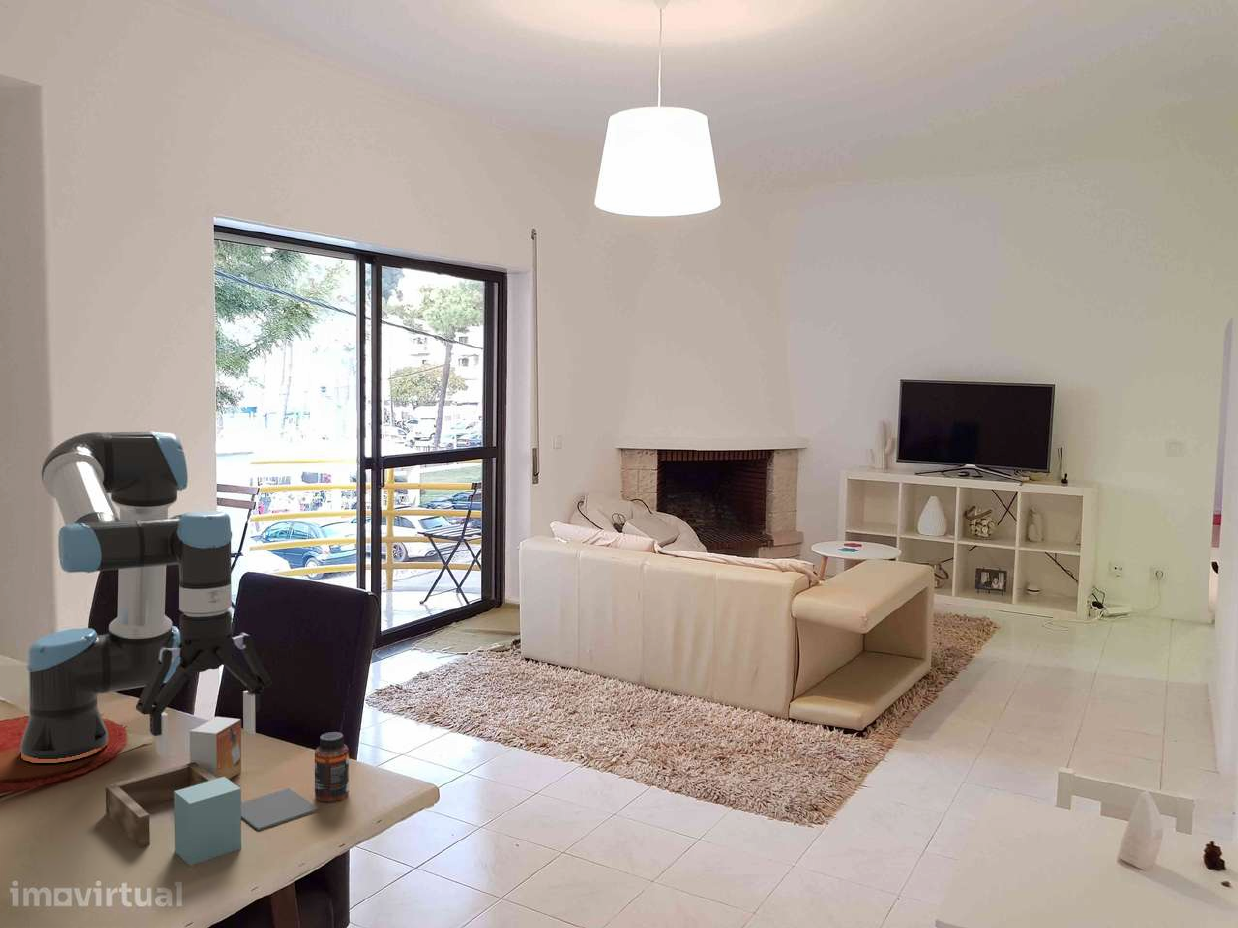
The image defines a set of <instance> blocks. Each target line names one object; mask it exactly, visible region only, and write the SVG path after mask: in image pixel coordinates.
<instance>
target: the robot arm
mask: <svg viewBox="0 0 1238 928" xmlns="http://www.w3.org/2000/svg"><path fill="white" fill-rule="evenodd" d="M188 476H189V475H188V465H187V461H186V455H185V452H184V449H183V445H182V443H181V441H180V439H179V437H177V436H176V435H175V434H174V433H173V432H162V431H161V432H160V431H159V432H157V431H153V430H150V431H121V432H120V431H119V432H118V431H117V432H113V431H112V432H109V431H108V432H100V431H96V432H86V433H81V434H79V435H75V436H72V437H70V438H68V439H66V440H63V442H61V443H60V444H59V445H57V446H56V447H54V449H52V450H51V451H50V452H49V454H47V456H46V458H45V460H44V462H43V464H42V467H41V480H42V483H43V486H44V488H45V490H46V492H47V493H48V494H49V495H50V496H51V497H52V498H54V499H55V500H56V503H57V505H58V508H59V511H60V514H61V517H62V519H63V522H64V525H63V526H62V527H60V529H59V531H58V539H57V540H58V541H57V542H58V545H57V547H58V548H57V549H58V559H59V565H60V568H61V569H62V571H64V572H65V573H67V574H68V573H69V574H70V573H71V574H73V573H75V574H76V573H87V574H91V573H95V572H104V571H114V570H116V571H117V570H118V587H117V592H118V593H117V617H115V618H114V619H113V620H111V622H110V623H109V625H108V633H107V634H98V633H97V631H96V630H95V629H93V628H90V627H82V628H72V629H71V628H69V629H67V630H62V631H58V632H55V633H51V634H47V635H45V636H43V637H40V638H39V639H37V640H36V641H34V643H32V644H31V646H30V647H29V650H28V662H27V663H28V664H27V667H26V669H27V671H28V690H29V691H28V694H29V695H28V696H29V698H28V700H29V701H28V702H29V718H28V721H27V723H26V726H25V728H24V733H23V735H22V737H21V741H20V745H19V752H20V751H21V753H22V754H24V755H26V756H29V757H33V758H38V759H58V758H66V757H72V756H76V755H80V754H83V753H86V752H89V751H91V750H94V749H98V748H101V747H103V746H104V745H105V744H106V743H107V741H108V742H109V733H108V729H107V727H106V724H105V722H104V719H103V716H102V715H101V712H100V710H99V707H98V695H101V694H106V693H113V692H119V691H124V690H125V691H126V690H131V689H138V688H143V690H142V692H141V694H140V696H139V699H138V701H137V703H136V705H135V710H136V711H138V712H139V713H141V714H142V715H145V716H146V715H149V732H150V734H151V735H153V736H154V737H155V739H156V743H155V744H156V753H157V754H158V755H160V756H161V757H162V758H166V757H169V714H168V713H166V712H165V710H166V709H167V707H168V706H169V705H170V703H172V701H173V699H174V698H175V696H176V695H177V693H179V691H180V690H181V688H182V687H184V685H185V683H186V682H187V680H188V679H189V678H191V677H192V676H193V675H194V674H195V672H197V673H203V672H206V671H209V670H218V669H220V668H221V667H222V666H224V667H225V669H227V671H229V672H230V673H231V674H232V675H233V676H234V677H235V678H236V679H237V680H238V681H239V682H240V683H242V684H243V686H245V687H246V688H247V689H248V690H244V691H242V714H243V715H242V718H243V719H242V721H243V722H242V724H243V725H242V726H243V731H244V732H246V733H248V734H249V735H255V734H256V712H259V711H260V709H261V695H262V694H263V693H264V689H265V688H269V687H271V686H272V684H273V682H272V678H271V677H270V676H269V674H268V671H267V670H266V668H265V667H264V665H263V663H262V661H261V659H260V658H259V656H258V654H257V652H256V650H255V648H254V645H253V644H254V643H253V637H252V636H251V635H250V634H247V633H245V632H240V633H238V635H237V636H234V637H233V636H232V632H233V612H232V611H231V610H230V609H231V607H232V603H233V599H232V597H233V596H232V593H233V592H232V587H233V586H232V539H233V531H232V525H231V517H230V516H229V514H228V513H226V512H224V511H217V510H197V511H190V512H185V513H183V514H176V515H174V516H172V517H169V508H170V507H171V506H172V505H173V504H175V503H176V502H177V500H178V491H179V492H182V491H184V490H185V489H187V487H188V483H189V482H188V481H189V480H188V479H189V478H188ZM109 494H110V496H109ZM110 497H111V498H110ZM113 503H114V504H115V506H117V507H118V509H119V515H118V513H117V511H116V509H115V507H114V505H113ZM172 565H178V574H179V580H178V581H179V582H178V591H179V592H178V595H179V596H178V610H179V611H180V612H181V613H180V615H179V629H178V626H175V625H173V621H172V619H171V618H170V617H168V616H167V615H166V614H165V613H166V586H167V585H166V583H167V578H166V577H167V566H172ZM235 647H236V648H237V649H239V650H240V651H241V653H242V655H243V657H244V659H245V660H246V662H247V664H248V666H249V668H250V670H251V671H252V674H253V675H254V677H255V678H256V680H254V679H253V678H252V677H251V676H250V675H249V674H248V673H247V672H246V671H245V670H244V669H243V668H242V667H241V666H240V665H239V664H238V662H236V661H235V660H234V659H233V658H232V657H231V655H230V654H231V652H232V650H233V649H234V648H235ZM163 684H164V686H163ZM162 686H163V687H162Z"/></svg>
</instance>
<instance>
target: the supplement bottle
mask: <svg viewBox="0 0 1238 928" xmlns="http://www.w3.org/2000/svg"><path fill="white" fill-rule="evenodd" d="M319 744H320V745H319V746H318V747H316V749H315V751H314V796H315V799H316V800H318V801H320V802H324V803H335V802H337V801H341V800H343V799H345V798H346V797H348V795H349V793H350V762H349V761H350V752H349V751H350V750H349V746H348V745H346V744H345V743H344V735H343V733H342V732H338V731H331V732H325V733H324V734H322V735H321V736H320V738H319ZM334 801H335V802H334Z"/></svg>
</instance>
